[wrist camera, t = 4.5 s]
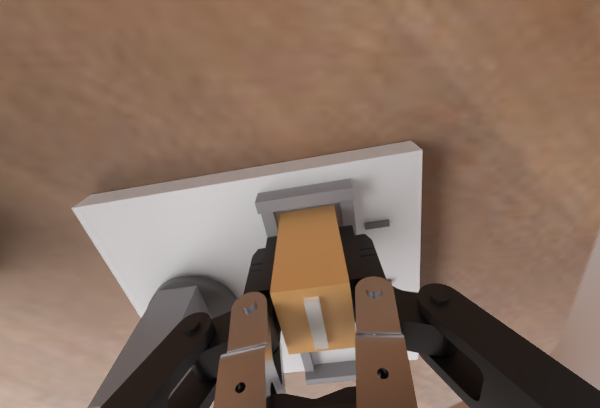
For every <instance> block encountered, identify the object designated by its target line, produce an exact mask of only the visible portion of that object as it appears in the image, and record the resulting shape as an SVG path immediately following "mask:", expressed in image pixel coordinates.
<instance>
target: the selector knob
mask: <svg viewBox="0 0 600 408" xmlns="http://www.w3.org/2000/svg"><path fill="white" fill-rule="evenodd" d="M237 299H238V298H237V297H236V296H235V294H234V293H233V292H232V291H231V290H230V289H228V288H227V287H226V286H224V285H222V284H221V283H219V282H217V281H214V280H212V279H208V278H205V277H200V276H181V277H176V278H173V279H170V280H168V281H166V282H165V283H163V284H162V285H161V286H160V287H159V288H158V289H157V290H156V292H155V294H154V295H153V297H152V299H151V300H150V302H149V304H148V307H147V309H146V311H145V313H144V314H143V316H142V318H141V319H140V321H139V323H138V324H137V326H136V328H135V329H134V331H133V333H132V334H131V336H130V338H129V339H128V341H127V343H126V344H125V346H124V348H123V349H122V351H121V353H120V354H119V356H118V358H117V360H116V361H115V363H114V365H113V366H112V368H111V370H110V371H109V373H108V375H107V376H106V378H105V380H104V381H103V383H102V385H101V386H100V388H99V390H98V391H97V393H96V395H95V396H94V398H93V400H92V401H91V403H90V405H89V406H88V408H100V407H101V406H102V405H103V404H104V403H105V402H106V401H107V400H108V399H109V398H110V396H111V395H112V394H113V393H114V392H115V391H116V390H117V389H118V388H119V387H120V386H121V385H122V384H123V382H124V381H125V380H126V379H127V378H128V377H129V376H130V375H131V374H132V373H133V372H134V371H135V370H136V369H137V367H138V366H139V365H140V364H141V363H142V362H143V361H144V360H145V359H146V358H147V357H148V356H149V355H150V354H151V352H152V351H153V350H154V349H155V348H156V347H157V346H158V345H159V344H160V343H161V342H162V341H163V340H164V338H165V337H166V336H167V335H168V334H169V333H170V332H171V331H172V330H173V329H174V328H175V327H176V326H177V325H178V323H179V322H180V321H181V320H183V319H184V318H185V317H187V316H189V315H191V314H193V313H197V312H204V313H207V314H208V315H209V316H210V317H211V319H213V318H215V317H218V316H220V315H223V314H225V313H227V312H229V311H231V309H232V306H233V304H234V302H235V301H236V300H237ZM191 369H192V368H190V369H189V370H188V372H187V373H186V374H185V375H184V377H183V378H182V379H181V380H180V382H179V383H178V384H177V386H176V387H175V388H174V389H173V391H172V392H171V394H170V396H171V395H172V394H173V392H174V391H175V390H176V389H177V387H178V386H179V385H180V383H181V382H182V381H183V380H184V378H185V377H186V376H187V374H188V373H189V372H190V371H191ZM170 396H169V398H170ZM169 398H168V399H169Z"/></svg>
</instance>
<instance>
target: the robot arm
mask: <svg viewBox="0 0 600 408" xmlns="http://www.w3.org/2000/svg"><path fill="white" fill-rule="evenodd" d="M338 228H339V233H340V238H341V243H342V248H343V252H344V257H345V262H346V267H347V272H348V277H349V282H350V289H351V297H352V305H353V312H354V320H355V322H356V333H355V359H356V386H354V387H346V388H343V389H341V390H338V391H336V392H333V393H330V394H328V395H325V396H323V397H320V398H317V399H309V398H304V397H299V396H294V395H289V394H286V392H285V382H284V370H283V358H282V346H281V343H280V338H281V327H280V324H279V321H278V318H277V315H276V311H275V308H274V305H273V302H272V299H271V295H270V288H271V281H272V273H273V266H274V258H275V251H276V243H277V236H272V237H268V238H267V242H266V247H265V248H261V249H258V250H257V251H256V252H255V254H254V255H253V256H252V260H251V264H250V265H251V266H250V268H249V272H248V276H247V281H246V285H245V289H244V293H243V295H242V296H240V297H239V298H238V299H237V300H236V301H235V302H234V304H233V306H232V309H231V311H229V312H227V313H225V314H223V315H220V316H218V317H215V318H213V319H211V317H210V316H209V315H208V314H207V313H204V312H197V313H193V314H191V315H189V316H187V317H185V318H184V319H183V320H181V321H180V322H179V323H178V325H177V326H176V327H175V328H174V329H173V330H172V331H171V332H170V333H169V334H168V335H167V336H166V337H165V338H164V340H163V341H162V342H161V343H160V344H159V345H158V346H157V347H156V348H155V349H154V350H153V351H152V352H151V354H150V355H149V356H148V357H147V358H146V359H145V360H144V361H143V362H142V363H141V364H140V365H139V366H138V367H137V369H136V370H135V371H134V372H133V373H132V374H131V375H130V376H129V377H128V378H127V379H126V380H125V381H124V382H123V384H122V385H121V386H120V387H119V388H118V389H117V390H116V391H115V392H114V393H113V394H112V395H111V396H110V398H109V399H108V400H107V401H106V402H105V403H104V404H103V405H102V406H101V407H100V408H209V407H210V406H211V404H212V402H213V401H214V407H213V408H418V407H417V402H416V397H415V391H414V386H413V381H412V375H411V370H410V365H409V359H408V354H407V351H411V352H416V353H419V354H420V356H421V357H422V358H423V360H424V361H425V362H426V363H427V364H428V365H429V366H430V367H431V368H432V369H433V370H434V371H435V372H436V373H437V374H438V375H439V376H440V377H441V378H442V379H443V380H444V381H445V382H446V383H447V384H448V386H449V387H450V388H451V389H452V390H453V391H454V392H455V393H456V394H457V395H458V396H459V397H460V398H461V399H462V400H463V401H464V402H465V403H466V404H467V405H468V406H469V407H470V408H600V391H599V390H597V389H596V388H595V387H593V386H592V385H590V384H589V383H588V382H586V381H585V380H583V379H582V378H580V377H579V376H578V375H576V374H575V373H573V372H572V371H570V370H569V369H567V368H566V367H565V366H563V365H562V364H560V363H559V362H558V361H556V360H555V359H553V358H552V357H550V356H549V355H548V354H546V353H545V352H543V351H542V350H540V349H539V348H538V347H536V346H535V345H533V344H532V343H530V342H529V341H528V340H526V339H525V338H523V337H522V336H520V335H519V334H518V333H516V332H515V331H513V330H512V329H510V328H509V327H508V326H506V325H505V324H503V323H502V322H500V321H499V320H498V319H496V318H495V317H493V316H492V315H490V314H489V313H488V312H486V311H485V310H483V309H482V308H480V307H479V306H478V305H476V304H475V303H473V302H472V301H470V300H469V299H468V298H466V297H465V296H463V295H462V294H460V293H459V292H458V291H456V290H455V289H453V288H451V287H449V286H447V285H443V284H437V283H436V284H428V285H425V286H423V287H422V288H421V289H420V290H419V292H418V293H417V292H409V291H403V290H400V289H397V288H395V287H394V286H392V285H391V283H390V282H389V281H387V279H386V277H385V274H384V271H383V269H382V266H381V263H380V260H379V258H378V255H377V252H376V249H375V247H374V244H373V241H372V239H371V238H369V237H368V236H367V235H366V234H360V235H355V234H354V230H353V226H352V225H348V226H341V227H338ZM190 368H192V369H191V371H190V372H189V373H188V374H187V376H186V377H185V378H184V380H183V381H182V382H181V383H180V385H179V386H178V387H177V389H176V390H175V391H174V392H173V394H172V395H171V396H170V394H171V392H172V391H173V389H174V388H175V387H176V386H177V384H178V383H179V382H180V380H181V379H182V378H183V377H184V375H185V374H186V373H187V372H188V370H189V369H190ZM169 396H170V398H169ZM168 398H169V399H168Z"/></svg>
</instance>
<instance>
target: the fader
mask: <svg viewBox="0 0 600 408" xmlns="http://www.w3.org/2000/svg"><path fill="white" fill-rule="evenodd" d="M270 295H271V299H272V302H273V305H274V308H275V311H276V315H277V318H278V321H279V324H280V327H281V331H282V334H283V337H284V340H285V343H286V347H287V350H288V353H289V354H299V353H308V352H317V351H327V350H336V349H345V348H355V333H356V327H355V320H354V312H353V305H352V297H351V289H350V282H349V277H348V272H347V267H346V262H345V257H344V252H343V248H342V243H341V238H340V233H339V228H338V223H337V218H336V213H335V208H334V205H330V206H323V207H317V208H310V209H304V210H297V211H291V212H284V213H280V220H279V228H278V235H277V243H276V251H275V258H274V266H273V273H272V281H271V288H270Z"/></svg>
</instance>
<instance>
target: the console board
mask: <svg viewBox="0 0 600 408" xmlns="http://www.w3.org/2000/svg"><path fill="white" fill-rule="evenodd" d="M422 152H423V150H422V149H421V148H420V147H418V146H417V145H416V144H415V143H414V142H412V141H405V142H399V143H393V144H387V145H382V146H376V147H370V148H364V149H358V150H352V151H346V152H340V153H334V154H328V155H322V156H317V157H311V158H305V159H299V160H293V161H287V162H281V163H275V164H269V165H263V166H257V167H252V168H246V169H240V170H234V171H228V172H222V173H216V174H210V175H204V176H198V177H193V178H187V179H181V180H175V181H169V182H163V183H157V184H151V185H145V186H139V187H133V188H128V189H122V190H116V191H110V192H104V193H98V194H92V195H90V196H88V197H87V198H85V199H84V200H82V201H81V202H80V203H78V204H77V205H75V206H74V207H72V208H71V209H72V210H73V212H74V213H75V215H76V216H77V218H78V220H79V221H80V223H81V224H82V226H83V227H84V229H85V231H86V232H87V234H88V235H89V237H90V238H91V240H92V242H93V243H94V245H95V246H96V248H97V250H98V251H99V253H100V254H101V256H102V257H103V259H104V261H105V262H106V264H107V265H108V267H109V268H110V270H111V272H112V273H113V275H114V276H115V278H116V279H117V281H118V283H119V284H120V286H121V287H122V289H123V290H124V292H125V294H126V295H127V297H128V298H129V300H130V301H131V303H132V305H133V306H134V308H135V309H136V311H137V313H138V314H139V316H140V317H141V318H142V316H143V314H144V313H145V311H146V309H147V307H148V304H149V302H150V300H151V299H152V297H153V295H154V294H155V292H156V290H157V289H158V288H159V287H160V286H161V285H162V284H163V283H165V282H166V281H168V280H170V279H173V278H176V277H181V276H200V277H205V278H208V279H212V280H214V281H217V282H219V283H221V284H222V285H224V286H226V287H227V288H228V289H230V290H231V291H232V292H233V293H234V294H235V296H236V297H237V298H239V297H240V296H242V295H243V293H244V289H245V285H246V281H247V276H248V272H249V268H250V266H251V265H250V264H251V260H252V256H253V255H254V254H255V252H256V251H257V250H258V249H261V248H265V247H266V242H267V238H268V237H272V236H277V235H278V228H279V220H280V213H284V212H291V211H297V210H304V209H310V208H317V207H323V206H330V205H334V208H335V213H336V218H337V223H338V227H341V226H348V225H352V226H353V230H354V234H355V235H360V234H366V235H367V236H368V237H369V238H371V239H372V241H373V244H374V247H375V249H376V252H377V255H378V258H379V260H380V263H381V266H382V269H383V271H384V274H385V277H386V279H387V281H389V282H390V283H391V285H392V286H394V287H395V288H397V289H400V290H403V291H409V292H417V293H418V292H419V290H420V244H421V198H422ZM355 327H356V322H355ZM280 343H281V346H282V358H283V370H284V373H289V372H299V371H305V372H306V383H307V385H314V384H324V383H335V382H345V381H355V380H356V359H355V348H345V349H336V350H327V351H317V352H308V353H299V354H289V353H288V350H287V347H286V343H285V340H284V337H283V334H282V331H281V338H280ZM407 354H408V359H409V360H416V359H418V353H416V352H411V351H407Z"/></svg>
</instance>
